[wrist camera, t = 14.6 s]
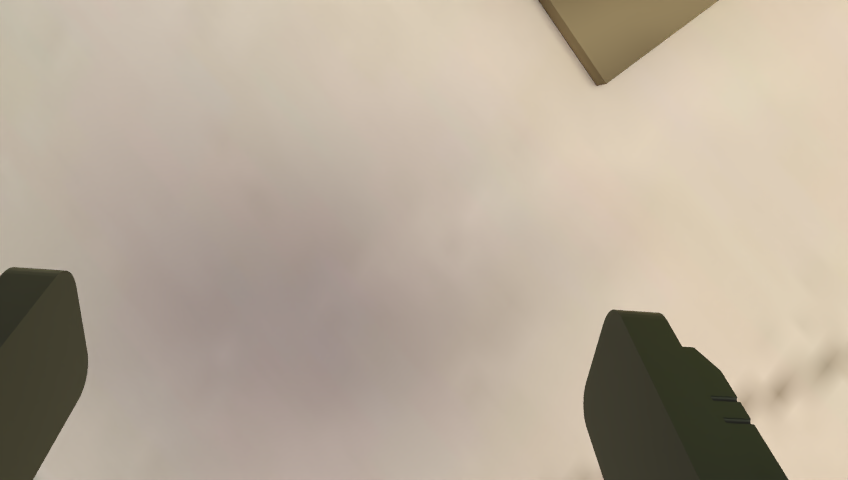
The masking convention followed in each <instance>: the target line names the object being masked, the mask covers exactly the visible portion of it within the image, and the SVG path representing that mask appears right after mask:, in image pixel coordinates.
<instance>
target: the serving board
mask: <svg viewBox="0 0 848 480" xmlns="http://www.w3.org/2000/svg"><path fill="white" fill-rule="evenodd" d="M539 1H540V3H541V4H542V6H543V7H544V9H545V10H546V12H547V13H548V15H549V16H550V18H551V19H552V21H553V22H554V23H555V25H556V26H557V28H558V29H559V31H560V32H561V34H562V35H563V37H564V38H565V40H566V41H567V43H568V44H569V45H570V47H571V48H572V50H573V51H574V53H575V54H576V56H577V57H578V59H579V60H580V62H581V63H582V65H583V66H584V68H585V69H586V70H587V72H588V73H589V75H590V76H591V78H592V79H593V81H594V82H595V84H596V85H597V86H598V85H602V84H607V83H608V82H609V81H611V80H612V79H613V78H615V77H616V76H617V75H619V74H620V73H621V72H623V71H624V70H625V69H627V68H628V67H629V66H631V65H632V64H633V63H635V62H636V61H637V60H639V59H640V58H641V57H643V56H644V55H646V54H647V53H648V52H650V51H651V50H652V49H654V48H655V47H656V46H658V45H659V44H660V43H662V42H663V41H664V40H666V39H667V38H668V37H670V36H671V35H672V34H674V33H675V32H676V31H678V30H679V29H681V28H682V27H683V26H685V25H686V24H687V23H689V22H690V21H691V20H693V19H694V18H695V17H697V16H698V15H699V14H701V13H702V12H703V11H705V10H706V9H707V8H709V7H710V6H711V5H713V4H714V3H715V2H717V1H718V0H539Z"/></svg>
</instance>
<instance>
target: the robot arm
mask: <svg viewBox="0 0 848 480" xmlns="http://www.w3.org/2000/svg"><path fill="white" fill-rule="evenodd" d="M87 369H88V354H87V347H86V341H85V335H84V329H83V324H82V318H81V312H80V306H79V300H78V294H77V288H76V283H75V280H74V277H73V276H72V274H71V273H70V272H68V271H62V270H47V269H33V268H18V267H12V268H9V269H7V270H6V271H5V272H4V273H3V274H2V275H1V276H0V480H33V478H34V477H35V475H36V473H37V471H38V470H39V468H40V466H41V464H42V463H43V461H44V459H45V457H46V456H47V454H48V452H49V450H50V449H51V447H52V445H53V443H54V442H55V440H56V438H57V436H58V435H59V433H60V431H61V429H62V428H63V426H64V424H65V422H66V421H67V419H68V417H69V415H70V414H71V412H72V410H73V408H74V407H75V405H76V403H77V401H78V399H79V398H80V396H81V393H82V391H83V388H84V385H85V381H86V376H87ZM583 404H584V418H585V423H586V427H587V430H588V433H589V436H590V439H591V442H592V445H593V448H594V451H595V454H596V457H597V460H598V463H599V466H600V469H601V472H602V475H603V478H604V480H788V478H787V477H786V475H785V473H784V472H783V470H782V469H781V467H780V465H779V464H778V462H777V461H776V459H775V457H774V456H773V454H772V452H771V451H770V449H769V448H768V446H767V444H766V443H765V441H764V440H763V438H762V436H761V435H760V433H759V432H758V430H757V428H756V427H755V425H753V424H751V423H750V417H749V415H748V414H747V412H746V411H745V409H744V407H743V406H742V404H741V403H740V402H737V396H736V395H735V393H734V391H733V390H732V388H731V387H730V385H729V383H728V382H727V380H726V379H725V377H724V375H723V374H722V372H721V371H720V370H719V369H718V368H717V367H716V366H715V365H713V364H712V363H711V362H710V361H709V360H708V359H706V358H705V357H704V356H703V355H702V354H701V353H699V352H698V351H697V350H696V349H695V348H693V347H682V346H681V344H680V342H679V340H678V339H677V337H676V335H675V333H674V332H673V330H672V328H671V327H670V325H669V323H668V321H667V320H666V318H665V317H664V316H663V315H662V314H661V313H653V312H638V311H623V310H611V311H610V312H609V313H608V314H607V316H606V318H605V321H604V324H603V327H602V330H601V334H600V337H599V341H598V344H597V347H596V351H595V354H594V358H593V361H592V364H591V368H590V371H589V375H588V378H587V381H586V385H585V390H584V402H583Z"/></svg>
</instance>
